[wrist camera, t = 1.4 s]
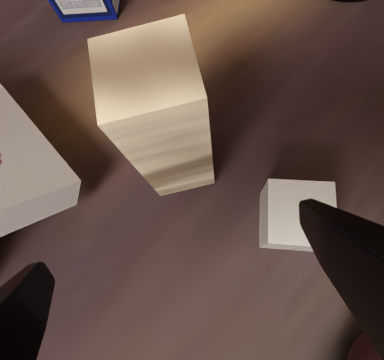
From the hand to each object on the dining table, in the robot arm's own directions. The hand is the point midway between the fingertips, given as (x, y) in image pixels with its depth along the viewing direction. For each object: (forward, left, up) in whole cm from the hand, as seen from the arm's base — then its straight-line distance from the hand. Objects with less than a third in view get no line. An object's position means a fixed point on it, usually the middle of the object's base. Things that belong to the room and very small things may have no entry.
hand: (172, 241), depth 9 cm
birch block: (+7, +4, -14) cm, 16 cm away
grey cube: (+4, -6, -14) cm, 16 cm away
